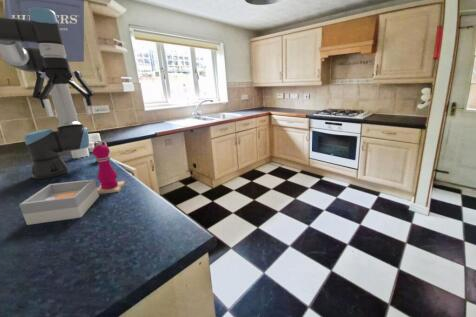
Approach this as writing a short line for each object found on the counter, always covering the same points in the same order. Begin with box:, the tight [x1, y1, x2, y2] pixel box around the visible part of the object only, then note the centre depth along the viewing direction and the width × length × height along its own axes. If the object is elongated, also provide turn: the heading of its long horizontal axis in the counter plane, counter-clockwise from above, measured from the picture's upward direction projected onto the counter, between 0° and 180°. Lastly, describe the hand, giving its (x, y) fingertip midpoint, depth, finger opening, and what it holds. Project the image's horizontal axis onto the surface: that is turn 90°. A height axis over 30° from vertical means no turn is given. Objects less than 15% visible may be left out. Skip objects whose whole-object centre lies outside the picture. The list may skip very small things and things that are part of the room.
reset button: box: [54, 193, 77, 199], centre depth 80 cm, size 6×6×4 cm
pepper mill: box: [92, 142, 118, 189], centre depth 94 cm, size 7×7×20 cm
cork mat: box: [97, 180, 126, 195], centre depth 97 cm, size 10×10×1 cm
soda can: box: [94, 140, 111, 159], centre depth 137 cm, size 7×7×12 cm
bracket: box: [70, 132, 102, 159], centre depth 156 cm, size 25×10×12 cm, turn 1°
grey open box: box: [18, 178, 100, 226], centre depth 80 cm, size 16×16×8 cm
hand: (70, 115), depth 89 cm, fingers open, 13 cm apart
